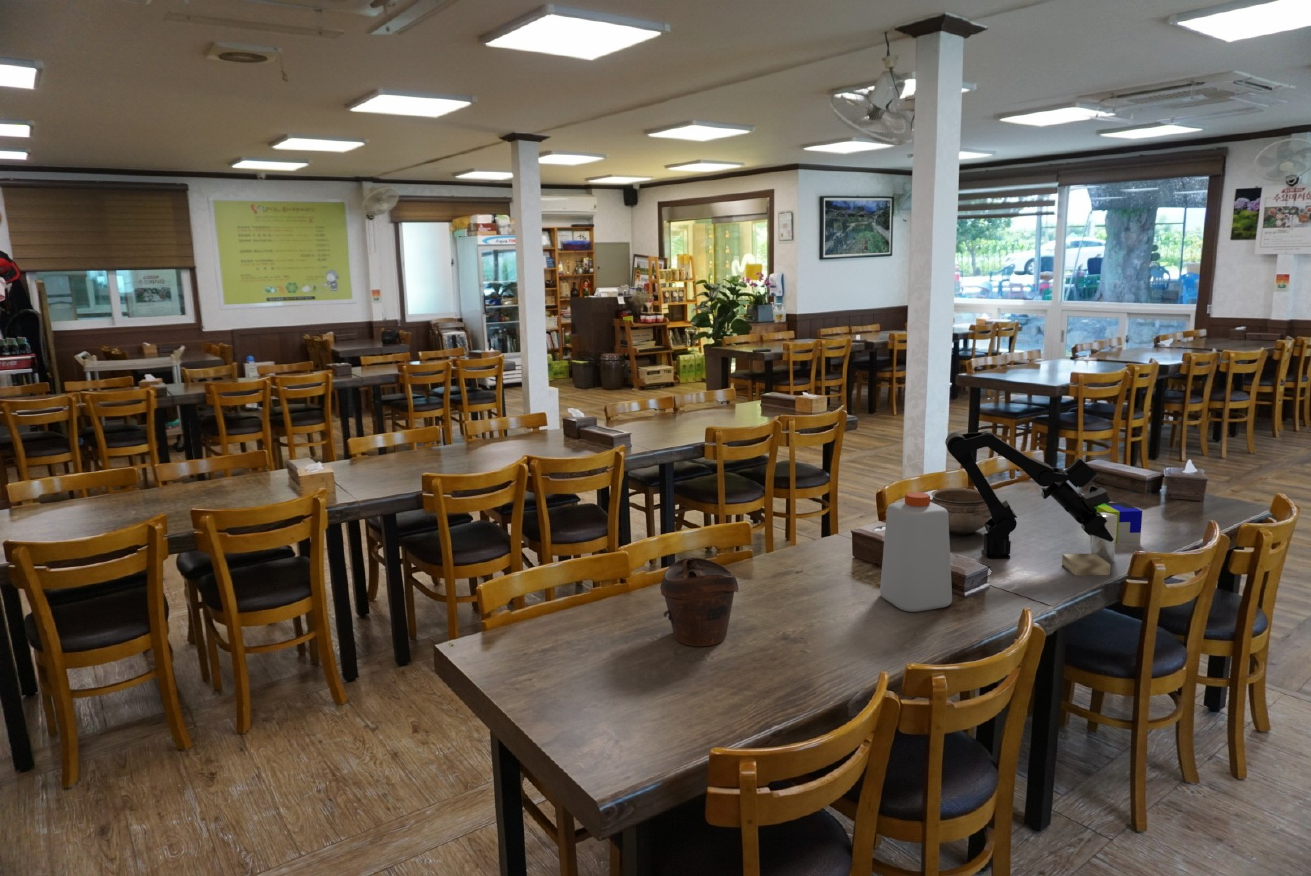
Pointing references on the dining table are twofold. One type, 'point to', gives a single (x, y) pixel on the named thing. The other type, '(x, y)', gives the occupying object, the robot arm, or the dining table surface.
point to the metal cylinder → (1103, 546)
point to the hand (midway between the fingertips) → (1109, 537)
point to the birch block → (1086, 564)
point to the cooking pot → (962, 509)
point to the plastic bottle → (916, 555)
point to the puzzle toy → (1124, 521)
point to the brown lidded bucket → (698, 600)
